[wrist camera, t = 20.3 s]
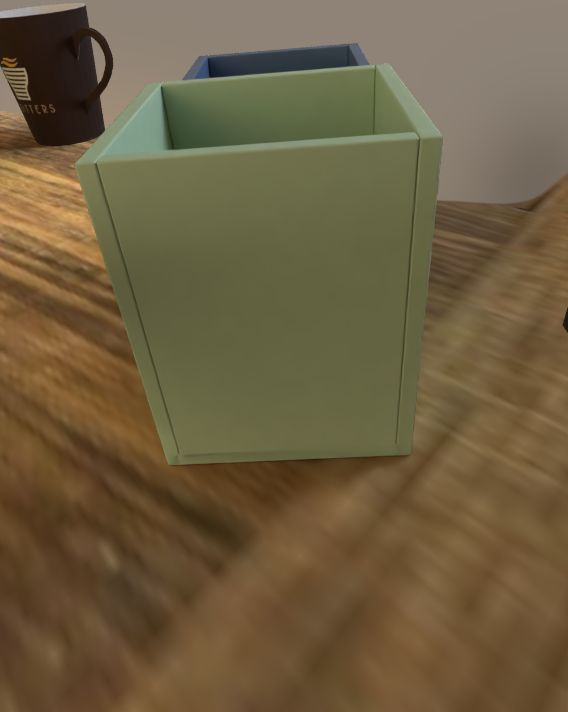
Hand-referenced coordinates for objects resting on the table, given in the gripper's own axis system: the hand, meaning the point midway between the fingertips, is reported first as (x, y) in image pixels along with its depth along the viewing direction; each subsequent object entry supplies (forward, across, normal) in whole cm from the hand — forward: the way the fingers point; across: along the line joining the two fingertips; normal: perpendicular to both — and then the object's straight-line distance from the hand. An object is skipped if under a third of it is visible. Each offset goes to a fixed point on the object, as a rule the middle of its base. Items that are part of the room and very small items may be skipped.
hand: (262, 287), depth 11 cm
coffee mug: (+42, -20, -8) cm, 47 cm away
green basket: (+6, 0, -8) cm, 10 cm away
